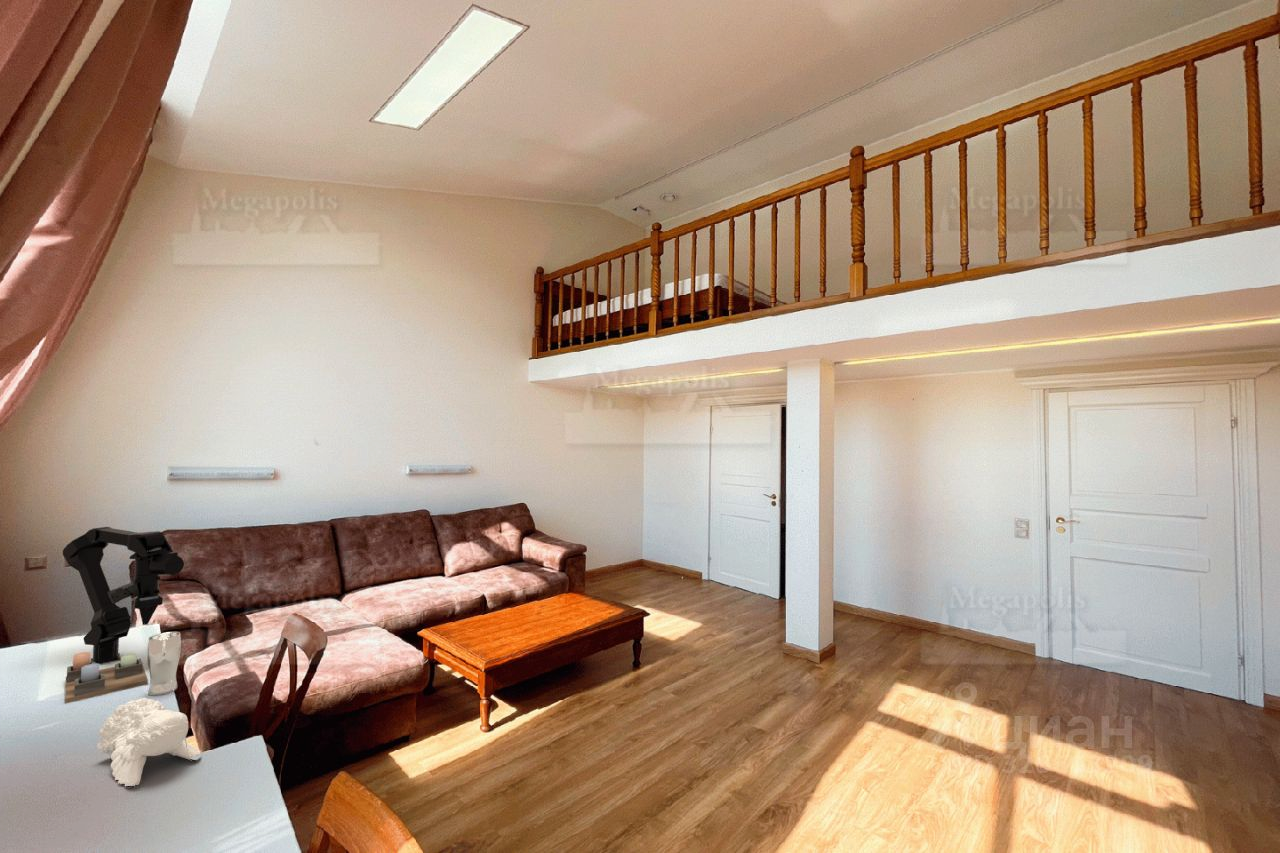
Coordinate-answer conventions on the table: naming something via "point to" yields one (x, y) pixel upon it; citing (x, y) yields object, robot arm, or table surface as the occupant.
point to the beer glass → (163, 662)
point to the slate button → (90, 673)
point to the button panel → (104, 681)
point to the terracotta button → (81, 660)
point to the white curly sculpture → (142, 737)
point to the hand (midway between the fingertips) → (145, 624)
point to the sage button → (128, 660)
